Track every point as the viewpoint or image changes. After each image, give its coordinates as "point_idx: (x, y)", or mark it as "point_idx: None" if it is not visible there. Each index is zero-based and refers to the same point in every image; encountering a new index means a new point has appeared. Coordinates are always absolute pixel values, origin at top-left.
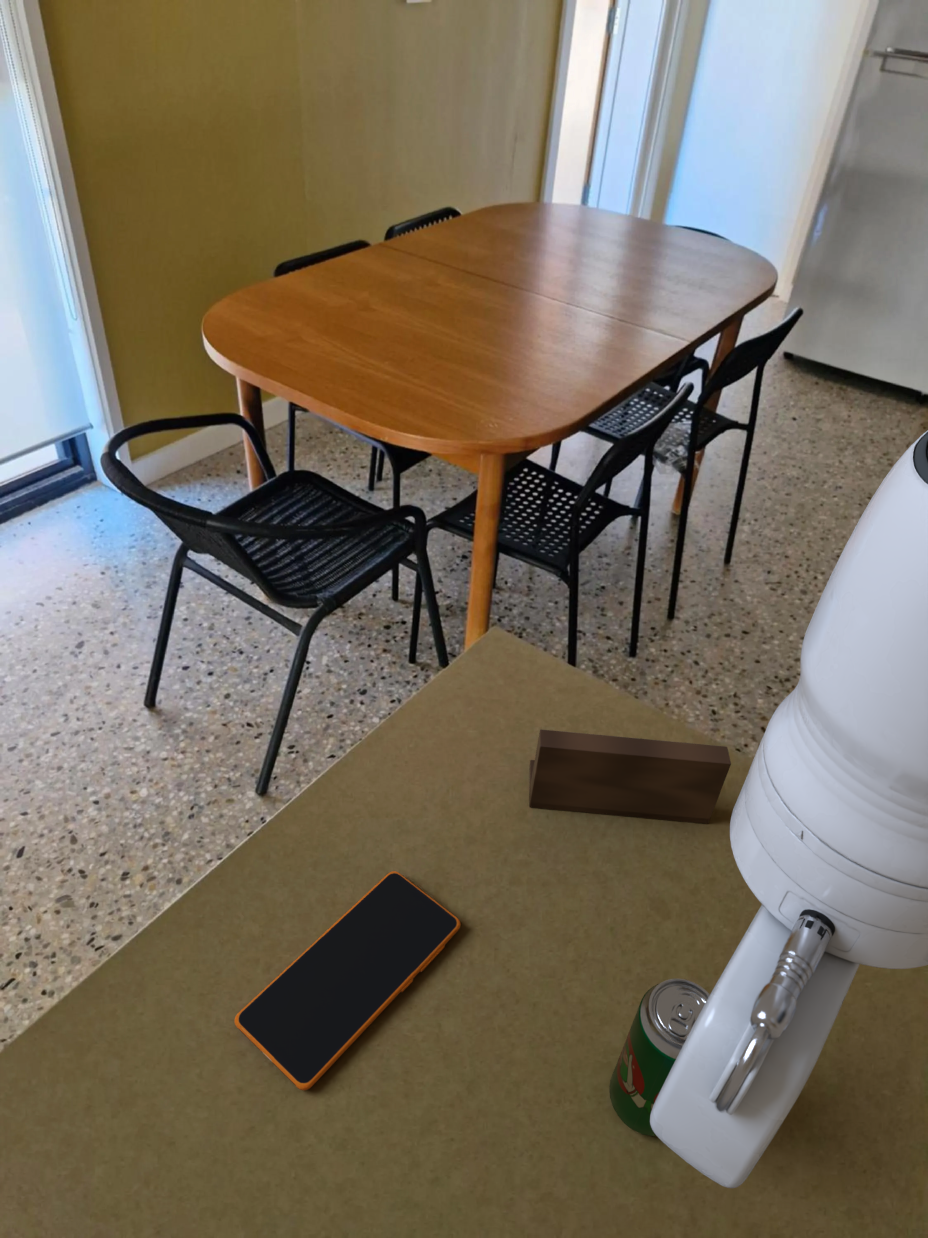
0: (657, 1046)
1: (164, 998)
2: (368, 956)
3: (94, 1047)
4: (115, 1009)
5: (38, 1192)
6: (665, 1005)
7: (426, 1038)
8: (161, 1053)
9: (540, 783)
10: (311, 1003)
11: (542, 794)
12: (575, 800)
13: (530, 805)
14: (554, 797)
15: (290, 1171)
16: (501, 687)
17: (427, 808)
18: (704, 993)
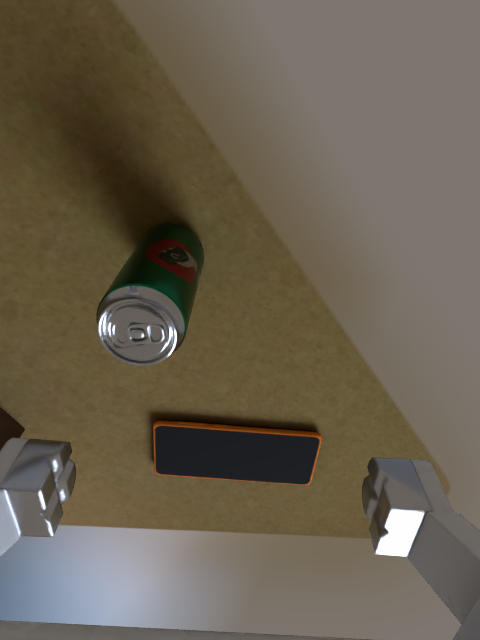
0: (183, 334)
1: (318, 510)
2: (221, 454)
3: (361, 517)
4: (338, 522)
5: None
6: (145, 352)
7: (241, 395)
8: (345, 494)
9: None
10: (272, 461)
11: (8, 437)
12: None
13: (23, 431)
14: (1, 428)
15: (363, 412)
16: None
17: (92, 477)
18: (101, 325)
